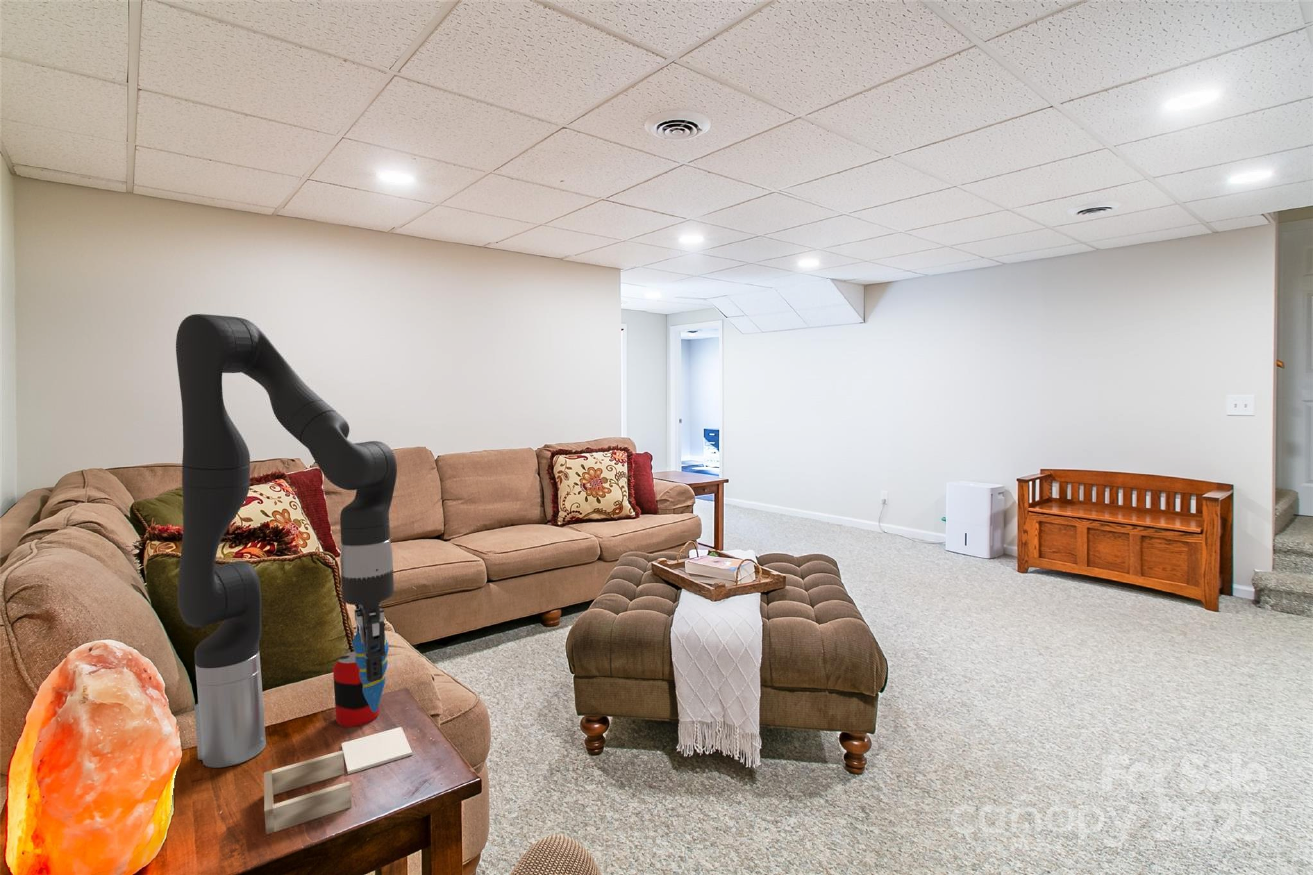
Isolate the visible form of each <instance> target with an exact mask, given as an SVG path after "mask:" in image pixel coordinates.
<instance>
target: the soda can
mask: <svg viewBox="0 0 1313 875" xmlns="http://www.w3.org/2000/svg"><path fill="white" fill-rule="evenodd" d="M355 657H356V652H355V651H351V652H347V653H345V654H343V655H341V656H340V657H338V659H337V661H336V662H335V664H334V665H333V667H332V673H333V674H332V675H333V690H334V691H333V692H334V704H335V705H334V706H335V721H336V723H337V724H338V725H339V726H341V727H346V728H352V727H360V726H362V725H363V726H364V725H366V724H368V723H370V722H372V721H373V720H375V719H376V718H377V717H378V715H379V714H380V705H379V706H378V710H377V711H376V712H372V710H371V708H370V706H369V704H368V702H367V700H366V699H365V697H364V694H363V690H362V689H363V684H362V682H361V680H360V677H359V671H360V669H359V667H358V666H357V664H356V661H355Z"/></svg>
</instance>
